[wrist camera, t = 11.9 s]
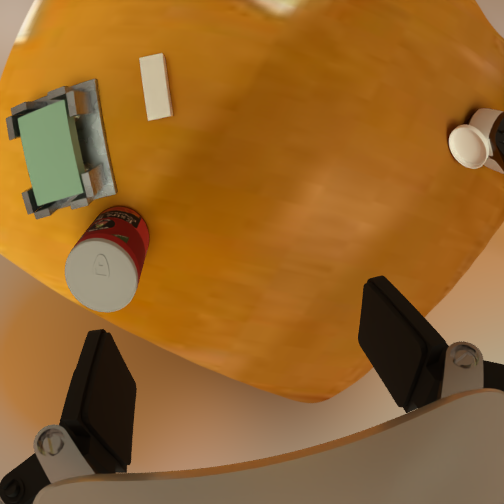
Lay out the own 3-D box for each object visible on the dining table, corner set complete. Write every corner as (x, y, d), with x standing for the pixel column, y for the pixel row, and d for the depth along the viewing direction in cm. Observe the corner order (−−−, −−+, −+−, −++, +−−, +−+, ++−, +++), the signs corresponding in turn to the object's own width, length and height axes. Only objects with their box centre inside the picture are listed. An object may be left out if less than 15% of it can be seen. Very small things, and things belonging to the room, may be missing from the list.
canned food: (145, 200, 36) (127, 235, 26) (155, 260, 39) (145, 310, 30) (87, 208, 35) (54, 245, 25) (100, 266, 38) (77, 315, 29)
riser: (144, 62, 29) (139, 58, 26) (165, 58, 29) (162, 52, 26) (152, 119, 32) (148, 120, 29) (173, 115, 32) (171, 116, 29)
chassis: (26, 105, 27) (-1, 107, 22) (97, 79, 28) (77, 74, 23) (49, 209, 34) (27, 228, 28) (117, 191, 35) (103, 208, 29)
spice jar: (496, 140, 40) (545, 156, 30) (469, 186, 43) (518, 209, 33) (467, 90, 36) (522, 98, 25) (437, 138, 39) (493, 154, 28)
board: (26, 117, 25) (17, 118, 23) (71, 99, 26) (64, 99, 24) (44, 200, 29) (37, 206, 28) (89, 187, 30) (83, 192, 28)
